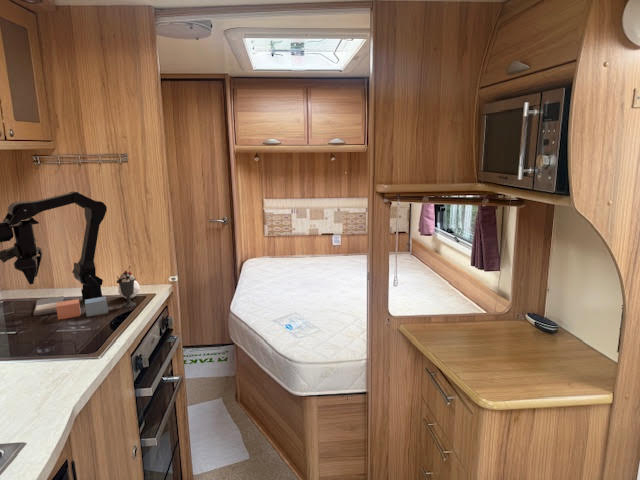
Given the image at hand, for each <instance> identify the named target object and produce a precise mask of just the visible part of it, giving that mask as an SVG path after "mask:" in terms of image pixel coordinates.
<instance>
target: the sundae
mask: <svg viewBox="0 0 640 480" xmlns="http://www.w3.org/2000/svg"><path fill="white" fill-rule="evenodd" d="M130 269H131V266H130V265H129V266H128V268H127V270H125V271H124V272H123V273H121V275H120V277H119V276H116V278H117V280H116V284H118V286H119V285H120V289H121V292H122V294H123V295H124V296H125V297H127V298H126V303H124V304H122V305H121V306H122V308H127V309H129V308H133V307H135V306H136V305H137V303H136V302H132V301H131V298H130V296H131V295H132V294H133V292H134V281H137V280H136V279H137V278H135V277H134V275H133V274H132V272H131V271H130Z"/></svg>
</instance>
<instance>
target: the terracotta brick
mask: <svg viewBox="0 0 640 480" xmlns="http://www.w3.org/2000/svg"><path fill="white" fill-rule="evenodd" d="M56 309H57V312H56V314H57V320H64V319H70V318H77V317H81V313H82V311H81V304H80V299H79V298H78V299H72V300H71V299H70V300H64V301H63V302H57V304H56Z"/></svg>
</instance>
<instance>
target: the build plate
mask: <svg viewBox="0 0 640 480" xmlns="http://www.w3.org/2000/svg"><path fill="white" fill-rule="evenodd" d="M63 299H65V296H64V295H61V296H55V297H48V298H41V299H37V300H36V303H35V307H34V309H33V316H34V317H35V316H41V315H46V314H54V313H57V309H56V304H57V302H63Z"/></svg>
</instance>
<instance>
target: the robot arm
mask: <svg viewBox="0 0 640 480" xmlns="http://www.w3.org/2000/svg"><path fill="white" fill-rule="evenodd" d="M73 204H75V205H77V206H78V207H80V208H82V209H84V217H85V223H86V224H85V230H84V234H83V235H84V236H83V242H82V248H81V255H80V259H79V260H78V262H73V270H72V271H71V273H72V274H73V278H74V279H75V280H77V281H78V282H80V284H81V285H82V288H81V289H80V290H81V291H80V292H81V297H82V301H83V303H84V304H85V300H87V299H93V298H99V297H103V294H102V285H103V282H104V279H102V278H100V277H98V275H97V274H96V273H97V272H96V270H97V269H96V264H95V255H96V250H97V243H98V237H99V231H100V225H101V223H102V222H103V221H104V219H105V216H106V213H107V209H108V207H107V206H106V204H105V202H102V201H100V200H95V199H92V198H90V197H87V196H86V195H83V193H81V192H77V191H70V192H66V193H62V194H59V195H55V196H50V197H46V198H43V199H42V198H41V199H39V200H38V199H37V200H24V201H15V202H11V203H10V204H9V205H8V207H7V213H6V214H5V215H6V216H5V217H4V218H3V220H2V222H0V243H5V242H10V241H11V239H13V238H14V240H15V243H14V244H13V246H11V247H8V248H6V249H5V248H4V249H2V250H0V261H1V262H2V263H6V262H7V261H9V260H12V259H13V258H16V260H15V261H14V263H13V266H14V269H15V270H17V271H20V272H22V273H23V275H24V277H25V278H26V280H27V282H28V284H29V285H34V283H35V279H36V277H37V276H38V273H39V270H40V269H39V268H40V265H41V261H42V258H43V250H42V248H41V247H38V246H37V238H35V237H36V236H35V233H34V226H33V225H38V224H39V221H38V220H36V219H35V218H34V216H37V215H39V214H40V213H42V212H45V211H50V210H53V209H57V208H60V207H65V206H68V205H73Z"/></svg>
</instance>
